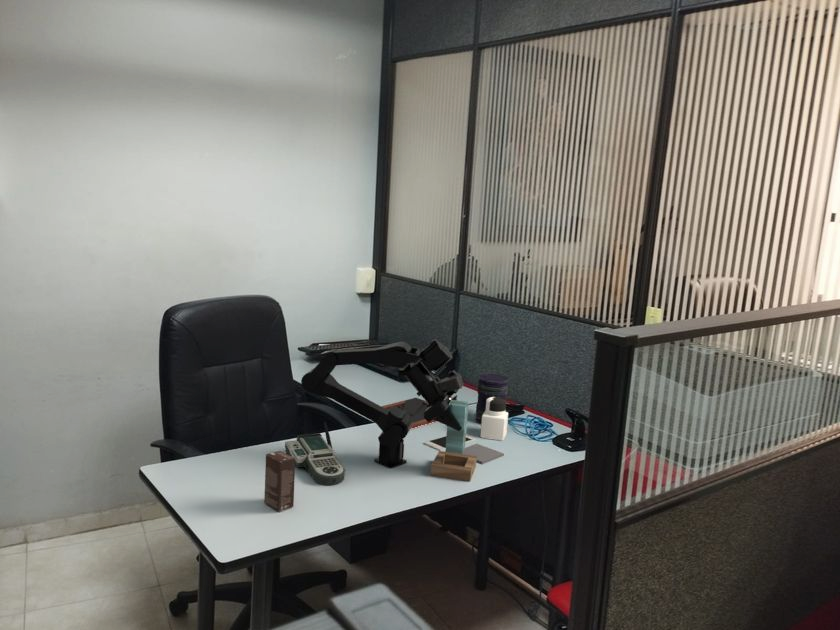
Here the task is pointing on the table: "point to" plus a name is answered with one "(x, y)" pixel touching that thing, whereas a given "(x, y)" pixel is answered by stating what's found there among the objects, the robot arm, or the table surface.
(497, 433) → the medicine bottle
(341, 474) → the communication device
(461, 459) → the pocket block
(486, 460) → the mat
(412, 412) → the picture frame
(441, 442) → the smartphone
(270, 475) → the box
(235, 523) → the table surface
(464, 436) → the peg
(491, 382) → the storage jar
